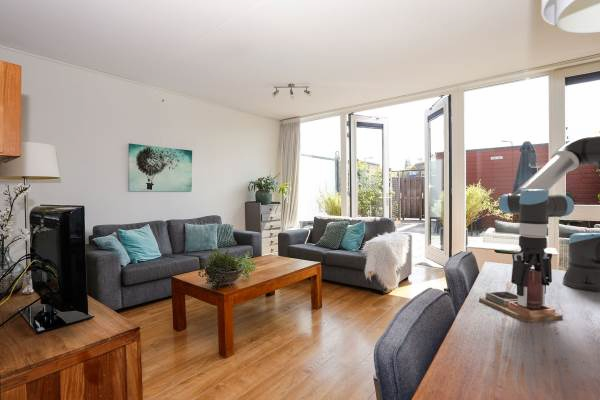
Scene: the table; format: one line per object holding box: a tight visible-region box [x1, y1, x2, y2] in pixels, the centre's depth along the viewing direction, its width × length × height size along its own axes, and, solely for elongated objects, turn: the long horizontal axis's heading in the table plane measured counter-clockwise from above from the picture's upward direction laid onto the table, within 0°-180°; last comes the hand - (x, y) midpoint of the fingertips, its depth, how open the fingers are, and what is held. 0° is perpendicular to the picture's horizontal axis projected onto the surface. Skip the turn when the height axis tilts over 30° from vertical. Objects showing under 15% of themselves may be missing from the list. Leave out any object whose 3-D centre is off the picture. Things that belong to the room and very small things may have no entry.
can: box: [518, 267, 542, 310], centre depth 108 cm, size 6×6×14 cm
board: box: [478, 290, 564, 324], centre depth 113 cm, size 14×20×3 cm
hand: (531, 304), depth 108 cm, fingers open, 6 cm apart
